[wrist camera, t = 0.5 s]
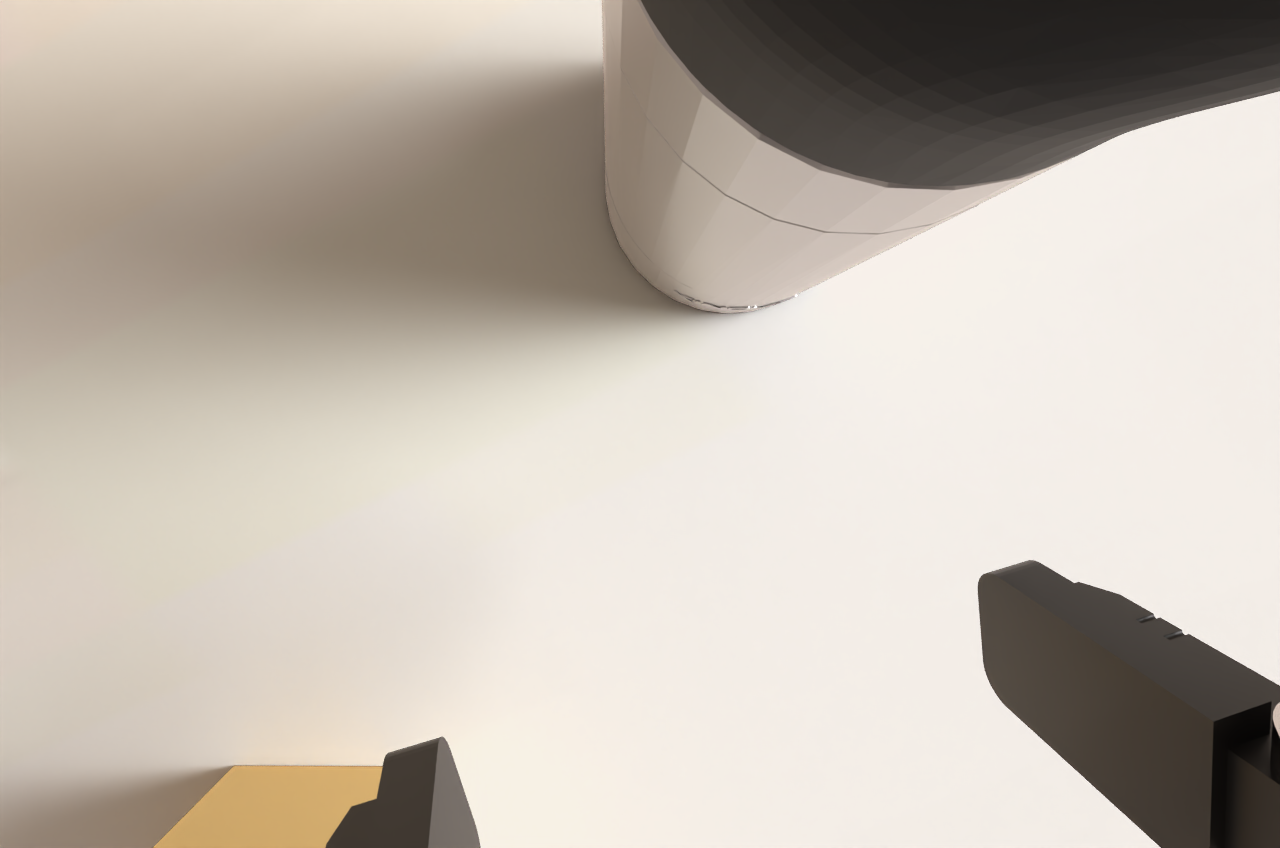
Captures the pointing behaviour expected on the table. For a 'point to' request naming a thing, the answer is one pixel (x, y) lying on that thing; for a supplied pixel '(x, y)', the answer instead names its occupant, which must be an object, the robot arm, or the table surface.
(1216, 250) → the table surface
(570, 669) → the table surface
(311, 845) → the bead
